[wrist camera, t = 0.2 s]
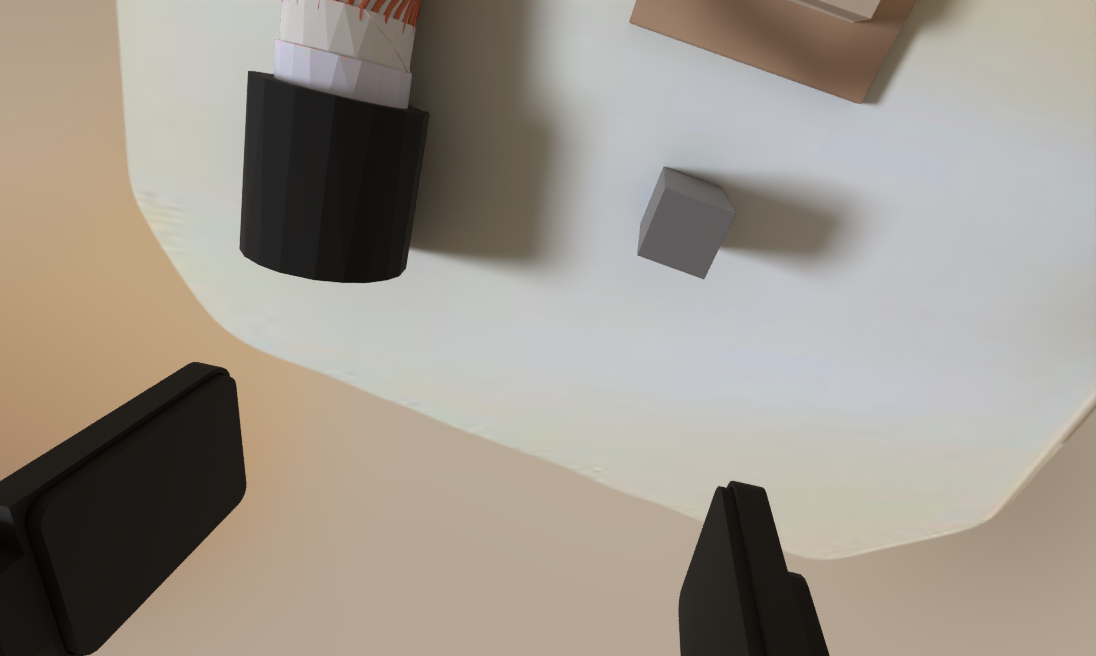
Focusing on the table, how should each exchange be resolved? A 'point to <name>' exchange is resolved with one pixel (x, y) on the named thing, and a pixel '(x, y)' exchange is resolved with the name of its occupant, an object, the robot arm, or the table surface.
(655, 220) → the charger brick
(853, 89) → the board
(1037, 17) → the table surface
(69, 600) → the robot arm
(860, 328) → the table surface
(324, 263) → the stepped striped telescope
